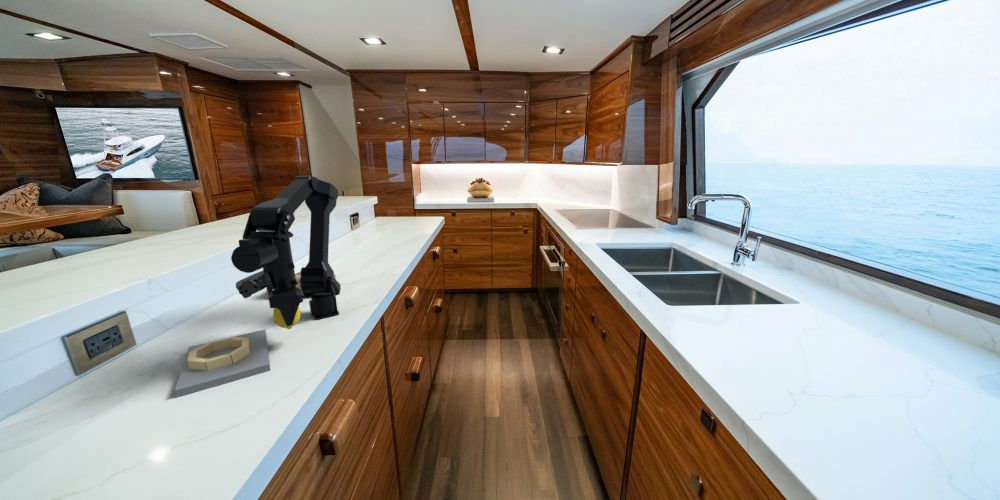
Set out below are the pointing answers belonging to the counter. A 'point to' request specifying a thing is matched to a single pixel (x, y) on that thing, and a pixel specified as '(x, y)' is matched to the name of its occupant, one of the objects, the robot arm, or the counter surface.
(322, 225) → the robot arm
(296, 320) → the lemon
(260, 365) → the plate
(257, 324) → the counter surface
